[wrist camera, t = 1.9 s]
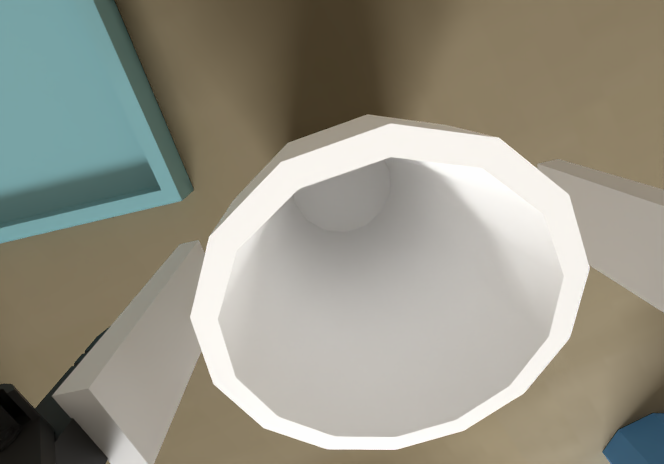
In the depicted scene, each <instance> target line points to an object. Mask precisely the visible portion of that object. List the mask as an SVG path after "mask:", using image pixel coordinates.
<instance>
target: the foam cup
mask: <svg viewBox="0 0 664 464" xmlns="http://www.w3.org/2000/svg"><path fill="white" fill-rule="evenodd" d="M589 269H590V267H589V264H588V260H587V257H586V253H585V250H584V246H583V242H582V239H581V235H580V232H579V228H578V225H577V221H576V217H575V214H574V210H573V207H572V203H571V199H570V196H569V194H568V193H567V192H565V191H564V190H563V189H562V188H560V187H559V186H558V185H557V184H555V183H554V182H553V181H552V180H550V179H549V178H548V177H547V176H546V175H544V174H543V173H542V172H541V171H539V170H538V169H537V168H536V167H534V166H533V165H532V164H531V163H529V162H528V161H527V160H526V159H525V158H523V157H522V156H521V155H520V154H518V153H517V152H516V151H515V150H513V149H512V148H511V147H510V146H508V145H507V144H506V143H505V142H504V141H502V140H501V139H500V138H498V137H494V136H490V135H486V134H481V133H477V132H473V131H469V130H465V129H461V128H457V127H453V126H449V125H443V124H435V123H428V122H420V121H413V120H406V119H398V118H391V117H383V116H376V115H369V114H367V115H364V116H362V117H359V118H356V119H353V120H350V121H348V122H345V123H342V124H339V125H336V126H333V127H331V128H328V129H325V130H322V131H319V132H317V133H314V134H311V135H308V136H305V137H303V138H300V139H297V140H294V141H291V142H289V143H287V144H286V145H285V146H284V147H283V148H282V149H281V150H280V151H279V152H278V154H277V155H276V156H275V157H274V158H273V159H272V160H271V161H270V162H269V163H268V164H267V165H266V166H265V167H264V168H263V169H262V170H261V171H260V173H259V174H258V175H257V176H256V177H255V178H254V179H253V180H252V181H251V182H250V183H249V184H248V185H247V186H246V187H245V188H244V189H243V191H242V192H241V193H240V194H239V195H238V196H237V197H236V198H235V199H234V200H233V202H232V203H231V205H230V206H229V208H228V209H227V211H226V212H225V214H224V215H223V217H222V218H221V220H220V221H219V223H218V224H217V226H216V227H215V229H214V230H213V232H212V233H211V235H210V236H209V240H208V244H207V248H206V252H205V257H204V261H203V265H202V269H201V273H200V278H199V282H198V286H197V290H196V294H195V299H194V303H193V307H192V311H191V315H190V319H191V322H192V325H193V328H194V330H195V333H196V336H197V339H198V342H199V345H200V347H201V350H202V353H203V356H204V359H205V361H206V364H207V367H208V370H209V373H210V376H211V378H212V381H213V384H214V385H215V386H216V387H217V388H219V389H220V390H221V391H222V392H223V393H224V394H225V395H227V396H228V397H229V398H230V399H231V400H232V401H233V402H235V403H236V404H237V405H238V406H239V407H240V408H241V409H243V410H244V411H245V412H246V413H247V414H248V415H249V416H251V417H252V418H253V419H254V420H255V421H256V422H257V423H259V424H260V425H261V426H262V427H263V428H265V429H268V430H271V431H274V432H277V433H280V434H283V435H286V436H289V437H292V438H295V439H298V440H301V441H304V442H307V443H310V444H313V445H316V446H319V447H322V448H325V449H365V450H397V449H400V448H404V447H407V446H411V445H414V444H418V443H422V442H425V441H429V440H432V439H436V438H439V437H443V436H446V435H450V434H453V433H457V432H461V431H464V430H465V429H467V428H469V427H470V426H472V425H474V424H475V423H477V422H478V421H480V420H482V419H483V418H485V417H486V416H488V415H490V414H491V413H493V412H494V411H496V410H498V409H499V408H501V407H502V406H504V405H506V404H507V403H509V402H511V401H512V400H514V399H515V398H517V397H519V396H520V395H522V394H523V393H525V391H526V390H527V389H528V388H529V387H530V385H531V384H532V383H533V382H534V381H535V379H536V378H537V377H538V376H539V374H540V373H541V372H542V371H543V370H544V368H545V367H546V366H547V365H548V364H549V362H550V361H551V360H552V359H553V358H554V356H555V355H556V354H557V353H558V352H559V350H560V349H561V348H562V347H563V346H564V344H565V343H566V342H567V341H568V340H569V338H570V336H571V332H572V329H573V325H574V322H575V318H576V315H577V311H578V308H579V304H580V301H581V297H582V294H583V290H584V287H585V283H586V280H587V276H588V272H589Z"/></svg>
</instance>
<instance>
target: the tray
mask: <svg viewBox="0 0 664 464" xmlns="http://www.w3.org/2000/svg"><path fill="white" fill-rule="evenodd" d="M193 190H194V189H193V187H192V184H191V182H190V180H189V177H188V175H187V172H186V170H185V168H184V165H183V163H182V161H181V158H180V156H179V153H178V151H177V149H176V146H175V144H174V142H173V139H172V137H171V134H170V132H169V130H168V127H167V125H166V122H165V120H164V118H163V115H162V113H161V111H160V108H159V106H158V103H157V101H156V99H155V96H154V94H153V92H152V89H151V87H150V84H149V82H148V80H147V77H146V75H145V72H144V70H143V68H142V65H141V63H140V61H139V58H138V56H137V53H136V51H135V49H134V46H133V44H132V41H131V39H130V37H129V34H128V32H127V30H126V27H125V25H124V22H123V20H122V18H121V15H120V13H119V11H118V8H117V6H116V3H115V1H114V0H0V243H4V242H8V241H13V240H17V239H21V238H25V237H30V236H34V235H38V234H42V233H47V232H51V231H55V230H59V229H64V228H68V227H72V226H76V225H81V224H85V223H89V222H93V221H98V220H102V219H106V218H110V217H115V216H119V215H123V214H127V213H132V212H136V211H140V210H144V209H149V208H153V207H157V206H161V205H166V204H170V203H174V202H178V201H182V200H183V199H184V198H186V197H187V196H188V195H189V194H190V193H191V192H192V191H193Z"/></svg>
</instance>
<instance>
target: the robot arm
mask: <svg viewBox="0 0 664 464" xmlns="http://www.w3.org/2000/svg"><path fill="white" fill-rule="evenodd" d="M537 169H538V170H539V171H541V172H542V173H543V174H544V175H546V176H547V177H548V178H549V179H550V180H552V181H553V182H554V183H555V184H557V185H558V186H559V187H560V188H562V189H563V190H564V191H565V192H567V193H568V194H569V196H570V199H571V203H572V207H573V210H574V214H575V217H576V221H577V225H578V228H579V232H580V235H581V239H582V242H583V246H584V250H585V253H586V257H587V260H588V264H589V265H590V266H591V267H593V268H595V269H596V270H598V271H599V272H601V273H602V274H604V275H606V276H607V277H609V278H610V279H612V280H613V281H615V282H616V283H618V284H620V285H621V286H623V287H624V288H626V289H627V290H629V291H631V292H632V293H634V294H635V295H637V296H638V297H640V298H641V299H643V300H645V301H646V302H648V303H649V304H651V305H652V306H654V307H656V308H657V309H659V310H660V311H662V312H663V313H664V190H663V189H660V188H657V187H653V186H650V185H646V184H643V183H639V182H636V181H632V180H629V179H625V178H622V177H619V176H615V175H612V174H608V173H605V172H601V171H598V170H594V169H591V168H588V167H584V166H581V165H577V164H574V163H570V162H567V161H563V160H560V159H556V160H552V161H548V162H543V163H539V164H538V167H537ZM204 257H205V253H204V251H203V249H202V246H201V244H200V242H199V240H197V241H192V242H188V243H184V244H180V245H179V246H178V247H177V248H176V249H175V251H174V252H173V253H172V254H171V255H170V257H169V258H168V259H167V260H166V261H165V262H164V264H163V265H162V266H161V267H160V268H159V270H158V271H157V272H156V273H155V274H154V275H153V277H152V278H151V279H150V280H149V281H148V283H147V284H146V285H145V286H144V287H143V288H142V290H141V291H140V292H139V293H138V294H137V296H136V297H135V298H134V299H133V300H132V301H131V303H130V304H129V305H128V306H127V307H126V309H125V310H124V311H123V312H122V313H121V315H120V316H119V317H118V318H117V319H116V320H115V322H114V323H113V324H112V325H111V326H110V327H109V328H107V329H106V330H105V331H104V332H102V333H101V334H100V335H99V336H97V337H96V339H95V340H94V341H93V342H92V343H91V344H90V346H89V347H88V348H87V349H86V350H85V354H82V355H81V356H80V357H79V358H78V359H77V361H76V362H75V363H74V366H72V367H71V368H70V369H69V370H68V371H67V372H66V373H65V375H64V376H63V377H62V378H61V379H60V380H59V381H58V383H57V384H56V385H55V386H54V387H53V388H52V390H51V391H50V392H49V393H48V394H47V395H46V397H45V398H44V399H43V400H42V401H41V402H40V404H39V405H38V406H37V407H36V408H34V407H33V406H32V405H31V404H30V403H29V402H28V401H27V400H26V399H25V398H24V397H23V395H22V394H21V393H20V392H19V391H18V390H17V389H16V388H15V387H14V386H13V385H12V384H1V385H0V464H105V463H106V462H107V460H108V461H109V462H110V463H111V464H154V462H155V460H156V457H157V455H158V453H159V450H160V448H161V445H162V443H163V441H164V438H165V436H166V434H167V431H168V429H169V426H170V424H171V422H172V419H173V417H174V415H175V412H176V410H177V407H178V405H179V403H180V400H181V398H182V396H183V393H184V391H185V388H186V386H187V384H188V381H189V379H190V377H191V374H192V372H193V369H194V367H195V365H196V362H197V360H198V358H199V355H200V353H201V347H200V345H199V342H198V339H197V336H196V333H195V330H194V328H193V325H192V322H191V319H190V315H191V311H192V307H193V303H194V299H195V294H196V290H197V286H198V282H199V278H200V273H201V269H202V265H203V261H204Z"/></svg>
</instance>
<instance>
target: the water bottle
mask: <svg viewBox="0 0 664 464" xmlns="http://www.w3.org/2000/svg"><path fill="white" fill-rule="evenodd" d="M603 454H604V455H605V456H606V458H607V459H608V461H609V462H610V463H611V464H664V413H652V414H650V415H648V416H646V417H644V418H642V419H640V420H638V421H636V422H634V423H632V424H629V425H627V426H625V427H623V428H621V429H619V430H618V431H617V432H616V434H615V435H614V437H613V438H612V439H611V441H610V442H609V444H608V445H607V446H606V448H605V449H604V451H603Z"/></svg>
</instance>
